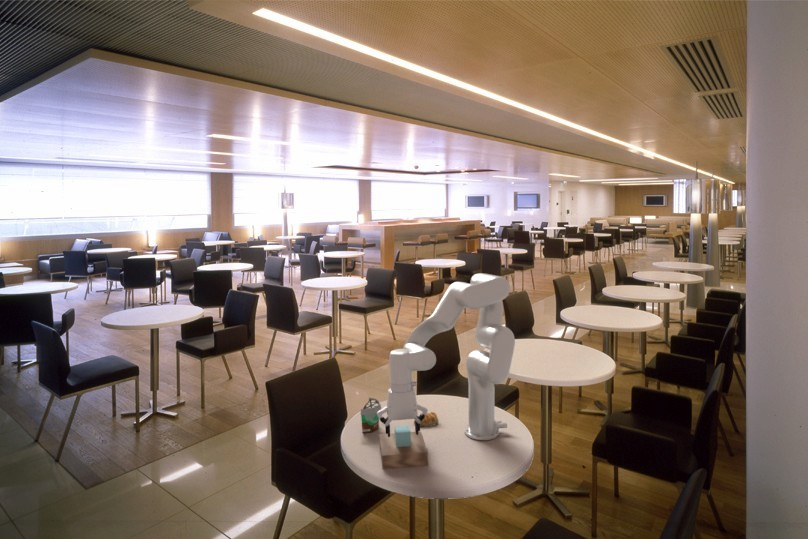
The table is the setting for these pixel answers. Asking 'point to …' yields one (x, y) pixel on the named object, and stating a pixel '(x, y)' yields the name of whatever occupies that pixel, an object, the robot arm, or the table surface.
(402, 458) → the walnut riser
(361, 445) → the table surface
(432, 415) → the pastry
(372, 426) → the food container
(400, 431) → the teal cube
